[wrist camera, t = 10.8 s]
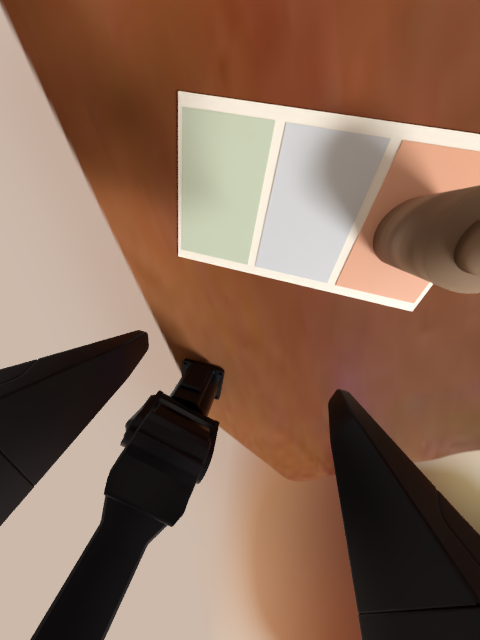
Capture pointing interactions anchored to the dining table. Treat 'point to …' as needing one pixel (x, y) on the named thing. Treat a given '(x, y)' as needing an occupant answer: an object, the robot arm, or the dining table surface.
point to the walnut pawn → (435, 239)
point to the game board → (308, 191)
